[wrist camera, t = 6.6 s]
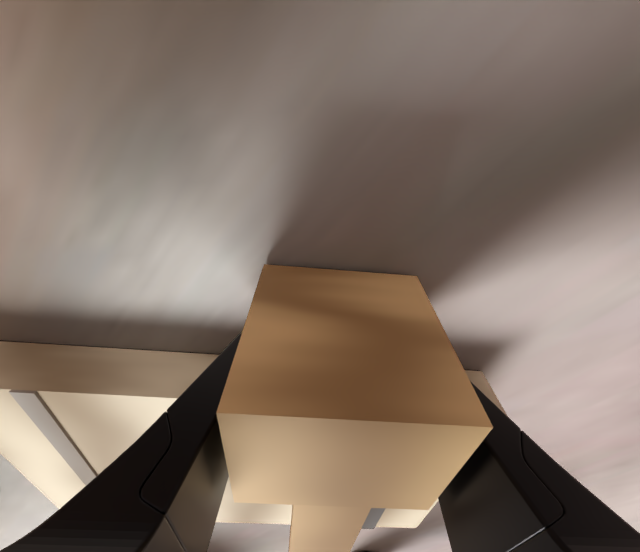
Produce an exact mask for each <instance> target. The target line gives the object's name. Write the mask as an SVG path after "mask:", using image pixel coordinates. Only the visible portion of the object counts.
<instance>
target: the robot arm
mask: <svg viewBox="0 0 640 552" xmlns="http://www.w3.org/2000/svg"><path fill="white" fill-rule="evenodd" d="M241 334H242V332H241V333H240V334H239V335H238V336H237V337H236V338H235V339H234V340H233V341H232V342H231V343H230V344H229V345H228V346H227V347H226V348H225V350H224V351H223V352H222V353H221V354H220V355H219V356H218V357H217V358H216V359H215V360H214V361H213V362H212V363H211V364H210V365H209V366H208V367H207V368H206V369H205V370H204V371H203V372H202V373H201V375H200V376H199V377H198V378H197V379H196V380H195V381H194V382H193V383H192V384H191V385H190V386H189V387H188V388H187V389H186V390H185V391H184V392H183V393H182V394H181V395H180V396H179V397H178V399H177V400H176V401H175V402H174V403H173V404H172V405H171V406H170V407H169V408H168V409H167V412H164V413H163V414H162V415H161V416H160V417H159V418H158V419H157V420H156V421H155V422H154V423H153V424H152V425H151V426H150V427H149V428H148V429H147V430H146V431H145V432H144V433H143V434H142V435H141V436H140V437H139V438H138V439H137V440H136V441H135V442H134V443H133V444H132V445H131V446H130V447H129V448H128V449H127V450H125V451H124V452H123V453H122V454H121V455H120V456H119V457H118V458H117V459H116V460H114V461H113V462H112V463H111V464H110V465H109V466H108V467H107V468H105V469H104V470H103V471H102V472H101V473H100V474H99V475H97V476H96V477H95V478H94V479H93V480H92V481H91V482H90V483H88V484H87V485H86V486H85V487H84V488H83V489H82V490H80V491H79V492H78V493H77V494H76V495H75V496H74V497H73V498H71V499H70V500H69V501H68V502H67V503H66V504H65V505H63V506H62V507H61V508H60V509H59V510H58V511H57V512H55V513H54V514H53V515H52V516H51V517H49V518H48V519H47V520H46V521H44V522H43V523H42V524H41V525H39V526H38V527H37V528H35V529H34V530H32V531H31V532H30V533H28V534H27V535H25V536H24V537H22V538H21V539H19V540H18V541H16V542H14V543H13V544H11V545H10V546H8V547H6V548H4V549H2V550H1V551H0V552H207V549H208V546H209V543H210V539H211V536H212V532H213V529H214V525H215V522H216V518H217V515H218V512H219V508H220V505H221V501H222V498H223V494H224V491H225V487H226V484H227V481H228V477H229V474H228V469H227V464H226V459H225V454H224V449H223V444H222V439H221V434H220V429H219V424H218V419H217V414H216V412H217V409H218V406H219V403H220V400H221V397H222V394H223V390H224V387H225V384H226V381H227V378H228V375H229V372H230V369H231V366H232V362H233V359H234V356H235V353H236V350H237V347H238V344H239V341H240V338H241ZM470 382H471V381H470ZM471 384H472V386H473V388H474V390H475V392H476V394H477V396H478V398H479V400H480V402H481V404H482V406H483V408H484V410H485V412H486V414H487V416H488V418H489V420H490V422H491V424H492V426H493V429H492V430H491V431H490V432H489V434H488V435H487V436H486V437H485V439H484V440H483V441H482V443H481V444H480V445H479V446H478V448H477V449H476V450H475V451H474V453H473V454H472V455H471V457H470V458H469V459H468V460H467V462H466V463H465V464H464V465H463V467H462V468H461V469H460V470H459V472H458V473H457V474H456V476H455V477H454V478H453V479H452V481H451V482H450V483H449V484H448V486H447V487H446V488H445V490H444V491H443V492H442V493H441V495H440V496H439V497H438V499H439V503H440V507H441V511H442V514H443V518H444V522H445V526H446V530H447V533H448V537H449V541H450V545H451V548H452V552H640V533H638V532H637V531H636V530H635V529H634V528H632V527H631V526H630V525H629V524H628V523H627V522H625V521H624V520H623V519H622V518H621V517H620V516H618V515H617V514H616V513H615V512H614V511H612V510H611V509H610V508H609V507H608V506H607V505H605V504H604V503H603V502H602V501H601V500H600V499H598V498H597V497H596V496H595V495H594V494H592V493H591V492H590V491H589V490H588V489H587V488H585V487H584V486H583V485H582V484H581V483H580V482H578V481H577V480H576V479H575V478H574V477H573V476H571V475H570V474H569V473H568V472H567V471H566V470H565V469H563V468H562V467H561V466H560V465H559V464H558V463H557V462H555V461H554V460H553V459H552V458H551V457H550V456H549V455H548V454H547V453H546V452H545V451H544V450H542V449H541V448H540V447H539V446H538V445H537V444H536V443H535V442H534V441H533V440H532V439H531V438H530V437H529V436H528V435H527V434H525V433H524V432H523V431H521V430H520V428H519V427H518V426H517V425H516V424H515V423H514V422H513V421H512V420H511V419H510V418H509V417H508V416H507V415H506V414H504V413H503V412H502V411H501V410H500V409H499V408H498V407H497V406H496V405H495V404H494V403H493V402H492V401H491V400H490V399H489V398H488V397H487V396H486V395H485V394H484V393H483V392H481V391H480V390H479V389H478V388H477V387H476V386H475V385H474V384H473V383H472V382H471Z"/></svg>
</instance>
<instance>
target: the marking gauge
mask: <svg viewBox="0 0 640 552" xmlns="http://www.w3.org/2000/svg"><path fill="white" fill-rule="evenodd" d="M216 414H217V419H218V424H219V429H220V434H221V439H222V444H223V449H224V454H225V459H226V464H227V469H228V474H229V479H230V484H231V489H232V494H233V499H234V503H259V504H285V505H292V516H291V527H290V539H289V552H350V550H351V548H352V546H353V544H354V542H355V540H356V538H357V536H358V534H359V532H360V530H361V528H362V526H363V524H364V522H365V520H366V518H367V516H368V514H369V512H370V510H371V508H388V509H414V510H429V509H430V507H431V506H432V505H433V503H434V502H435V501H436V500H437V498H438V497H439V496H440V495H441V493H442V492H443V491H444V490H445V488H446V487H447V486H448V484H449V483H450V482H451V481H452V479H453V478H454V477H455V476H456V474H457V473H458V472H459V470H460V469H461V468H462V467H463V465H464V464H465V463H466V462H467V460H468V459H469V458H470V457H471V455H472V454H473V453H474V451H475V450H476V449H477V448H478V446H479V445H480V444H481V443H482V441H483V440H484V439H485V437H486V436H487V435H488V434H489V432H490V431H491V430H492V429H493V426H492V424H491V422H490V420H489V418H488V416H487V414H486V412H485V410H484V408H483V406H482V404H481V402H480V400H479V398H478V396H477V394H476V392H475V390H474V388H473V386H472V384H471V382H470V380H469V378H468V376H467V374H466V372H465V370H464V368H463V366H462V364H461V362H460V360H459V358H458V356H457V354H456V352H455V350H454V348H453V347H452V345H451V343H450V341H449V339H448V337H447V335H446V333H445V331H444V329H443V327H442V325H441V323H440V321H439V319H438V317H437V315H436V313H435V311H434V309H433V307H432V305H431V303H430V301H429V299H428V297H427V295H426V293H425V291H424V289H423V287H422V285H421V283H420V281H419V279H418V277H417V276H410V275H397V274H384V273H371V272H358V271H345V270H332V269H319V268H306V267H292V266H279V265H266V264H264V266H263V269H262V272H261V275H260V279H259V282H258V285H257V288H256V291H255V294H254V297H253V300H252V303H251V307H250V310H249V313H248V316H247V319H246V322H245V325H244V328H243V331H242V334H241V338H240V341H239V344H238V347H237V350H236V353H235V356H234V359H233V362H232V366H231V369H230V372H229V375H228V378H227V381H226V384H225V387H224V390H223V394H222V397H221V400H220V403H219V406H218V409H217V412H216Z"/></svg>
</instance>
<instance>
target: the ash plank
mask: <svg viewBox="0 0 640 552" xmlns="http://www.w3.org/2000/svg"><path fill="white" fill-rule="evenodd" d="M218 356H219V355H213V354H197V353H181V352H165V351H149V350H133V349H117V348H101V347H85V346H69V345H53V344H37V343H21V342H5V341H0V454H2V455H3V456H4V457H5V458H6V459H7V460H8V461H9V462H10V463H11V464H12V465H13V466H14V467H15V468H16V469H17V470H18V471H19V472H20V473H22V474H23V475H24V476H25V477H26V478H27V479H28V480H29V481H30V482H31V483H32V484H33V485H34V486H35V487H36V488H37V489H38V490H39V491H40V492H42V493H43V494H44V495H45V496H46V497H47V498H48V499H49V500H50V501H51V502H52V503H53V504H54V505H55V506H56V507H57V508H58V509H60V508H61V507H62V506H63V505H65V504H66V503H67V502H68V501H69V500H70V499H71V498H73V497H74V496H75V495H76V494H77V493H78V492H79V491H80V490H82V489H83V488H84V487H85V486H86V485H87V484H88V483H90V482H91V481H92V480H93V479H94V478H95V477H96V476H97V475H99V474H100V473H101V472H102V471H103V470H104V469H105V468H107V467H108V466H109V465H110V464H111V463H112V462H113V461H114V460H116V459H117V458H118V457H119V456H120V455H121V454H122V453H123V452H124V451H125V450H127V449H128V448H129V447H130V446H131V445H132V444H133V443H134V442H135V441H136V440H137V439H138V438H139V437H140V436H141V435H142V434H143V433H144V432H145V431H146V430H147V429H148V428H149V427H150V426H151V425H152V424H153V423H154V422H155V421H156V420H157V419H158V418H159V417H160V416H161V415H162V414H163V413H164V412H167V409H168V408H169V407H170V406H171V405H172V404H173V403H174V402H175V401H176V400H177V399H178V397H179V396H180V395H181V394H182V393H183V392H184V391H185V390H186V389H187V388H188V387H189V386H190V385H191V384H192V383H193V382H194V381H195V380H196V379H197V378H198V377H199V376H200V375H201V373H202V372H203V371H204V370H205V369H206V368H207V367H208V366H209V365H210V364H211V363H212V362H213V361H214V360H215V359H216V358H217V357H218ZM465 372H466V374H467V376H468V378H469V380H470V381H471V382H472V383H473V384H474V385H475V386H476V387H477V388H478V389H479V390H480V391H481V392H483V393H484V394H485V395H486V396H487V397H488V398H489V399H490V400H491V401H492V402H493V403H494V404H495V405H496V406H497V407H498V408H499V409H500V410H501V411H502V412H503V413H504V414H506V413H505V411H504V409H503V407H502V406H501V404H500V402H499V400H498V399H497V397H496V395H495V394H494V392H493V390H492V388H491V387H490V385H489V383H488V381H487V380H486V378H485V376H484V374H483V373H482V371H469V370H465ZM506 415H507V414H506ZM438 501H439V499H438V498H437V500H436V501H435V502H434V503H433V505H432V506H431V507H430V509H429V510H414V509H388V508H371V510H370V512H369V514H368V516H367V518H366V520H365V522H364V524H363V526H362V528H361V529H374V528H375V527H395V528H417V526H418V525H419V524H420V523H421V521H422V520H423V519H424V518H425V517H426V515H427V514H428V513H429V512H430V510H431V509H432V508H433V507H434V506H435V504H436V503H437V502H438ZM291 516H292V505H285V504H259V503H234V499H233V494H232V489H231V484H230V479H229V477H228V481H227V484H226V487H225V491H224V494H223V498H222V501H221V505H220V508H219V512H218V515H217V518H216V522H226V523H260V524H291Z"/></svg>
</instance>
